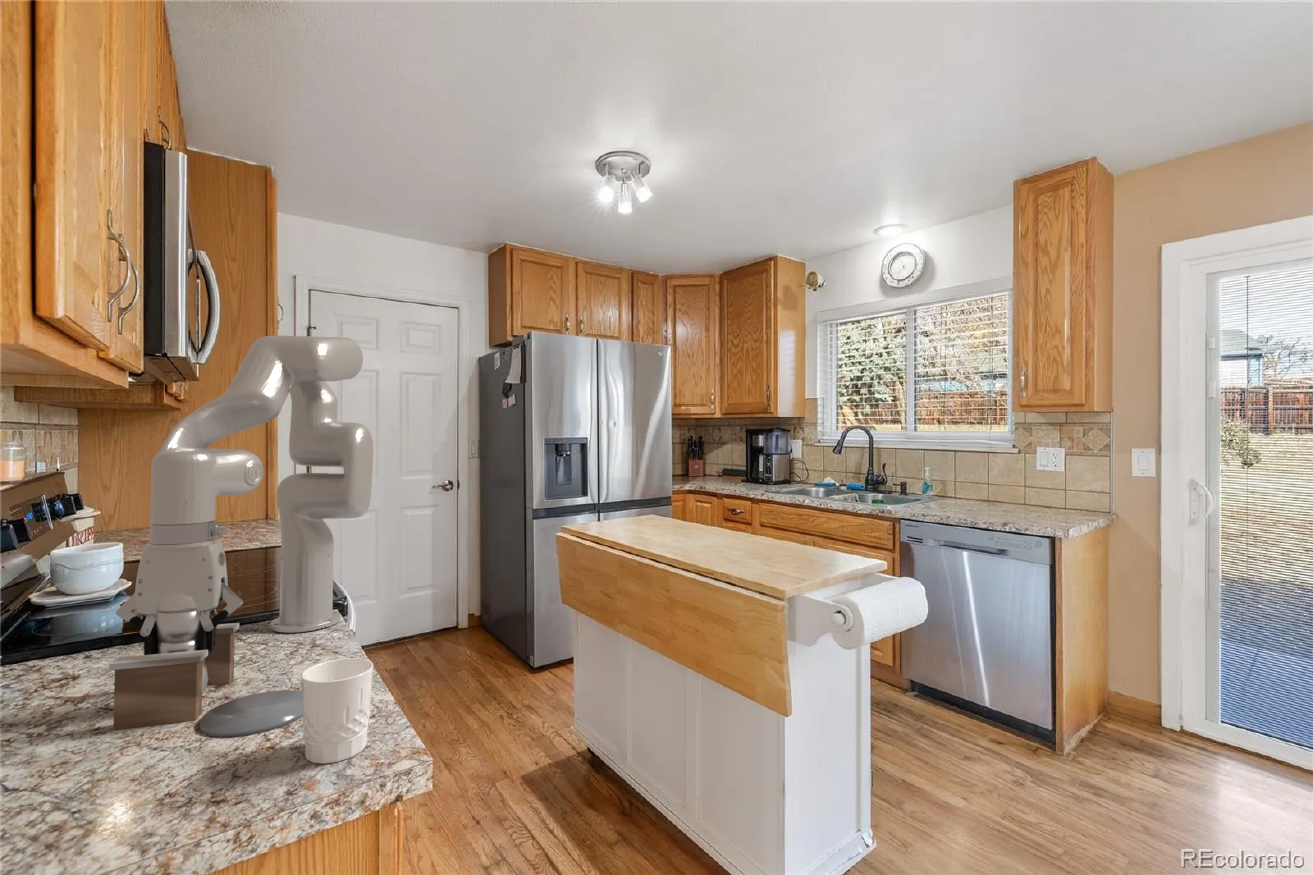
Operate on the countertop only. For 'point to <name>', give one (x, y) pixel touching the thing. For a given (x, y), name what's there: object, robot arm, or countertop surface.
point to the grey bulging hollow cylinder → (179, 627)
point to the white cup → (336, 708)
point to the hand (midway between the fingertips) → (180, 657)
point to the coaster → (253, 714)
